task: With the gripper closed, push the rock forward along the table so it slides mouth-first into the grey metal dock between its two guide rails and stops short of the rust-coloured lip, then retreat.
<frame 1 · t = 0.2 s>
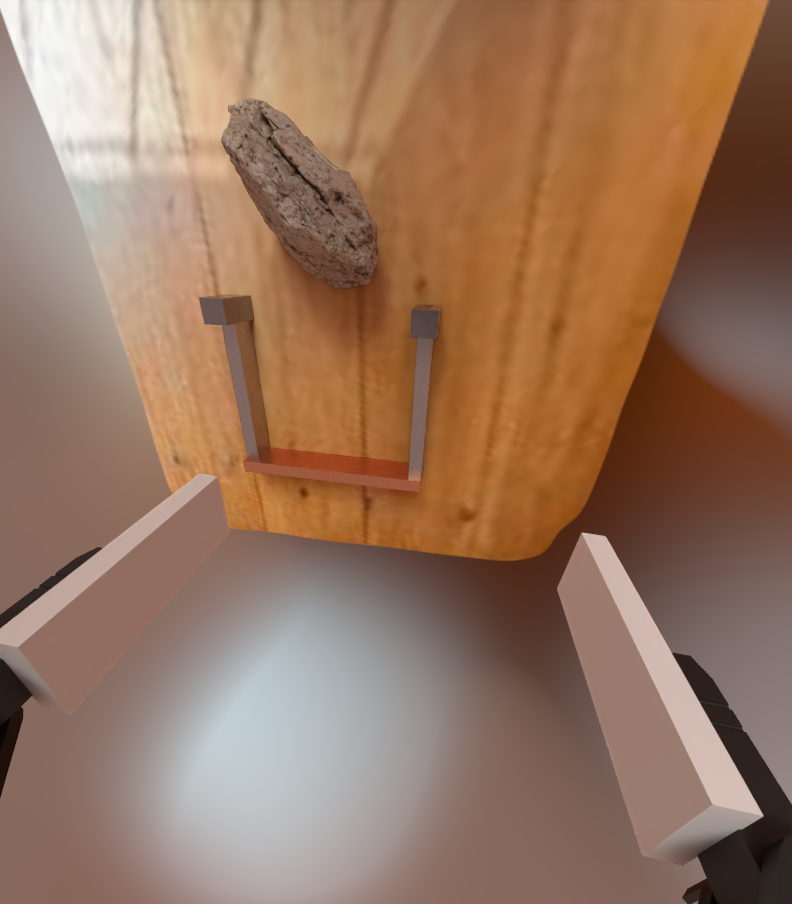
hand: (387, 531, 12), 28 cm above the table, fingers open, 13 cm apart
dock: (335, 392, 40), on the table
rock: (328, 219, 32), on the table
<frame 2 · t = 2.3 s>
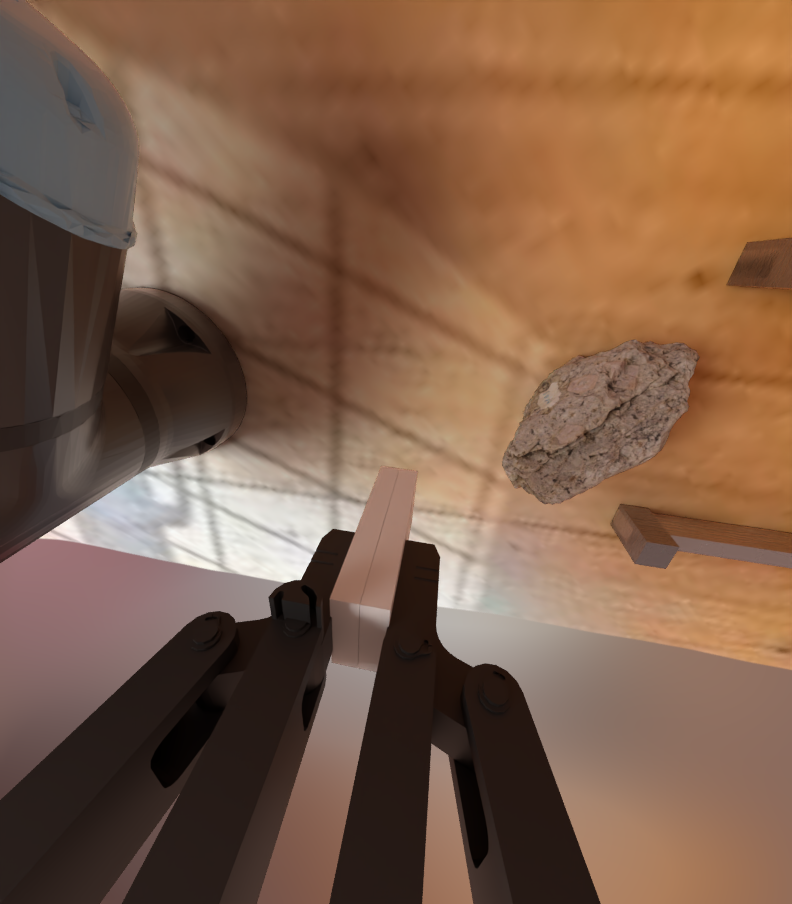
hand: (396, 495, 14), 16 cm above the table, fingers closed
rock: (571, 400, 28), on the table
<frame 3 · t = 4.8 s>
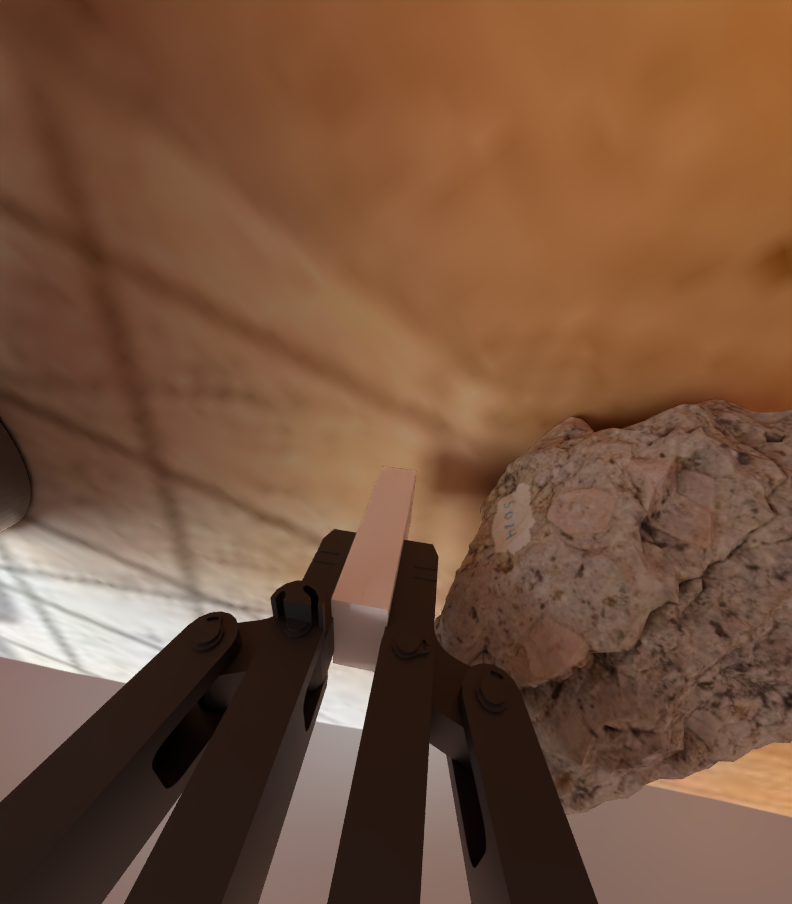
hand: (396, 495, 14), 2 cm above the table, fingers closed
rock: (564, 486, 16), on the table, touching gripper
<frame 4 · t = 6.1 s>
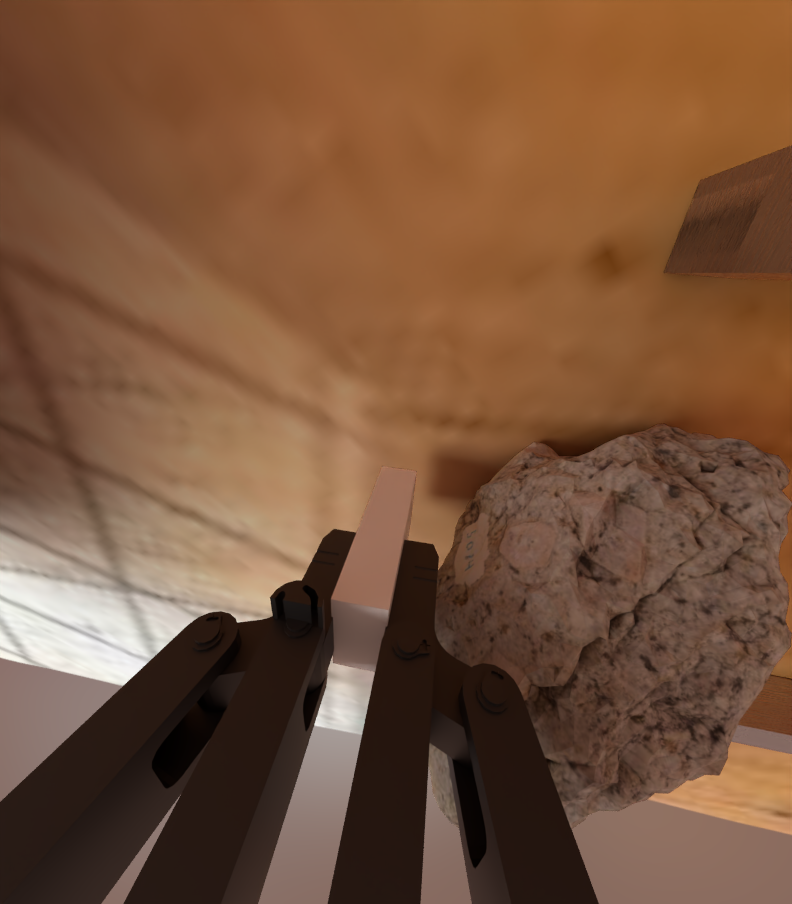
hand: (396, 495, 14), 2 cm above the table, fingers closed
rock: (538, 506, 16), on the table, touching gripper
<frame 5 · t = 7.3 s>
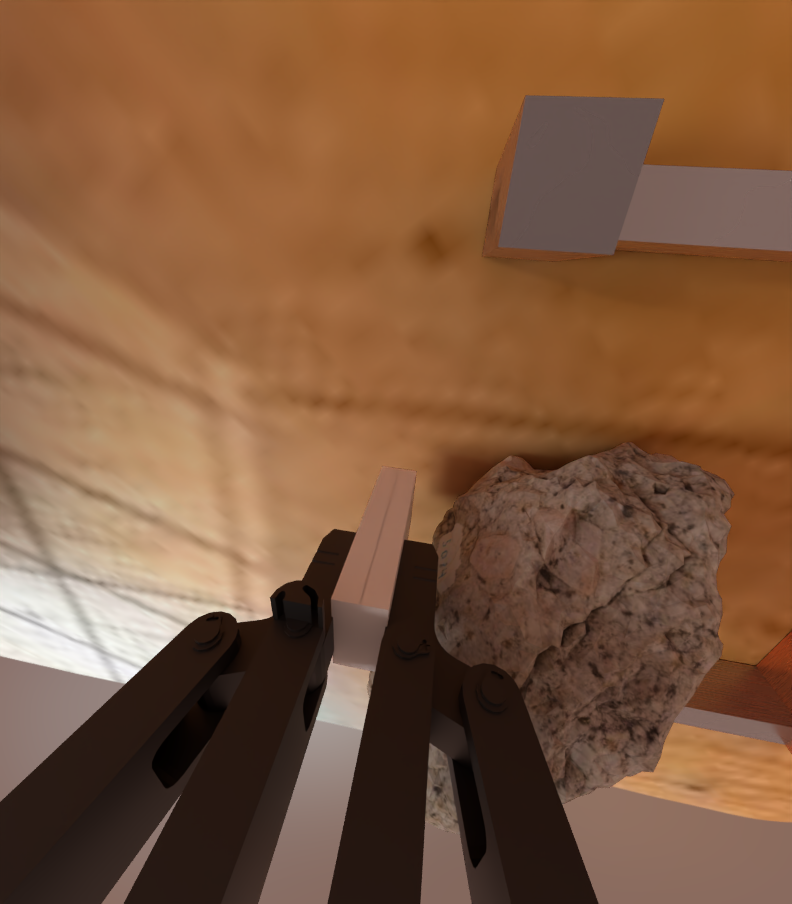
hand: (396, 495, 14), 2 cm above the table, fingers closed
dock: (670, 506, 15), on the table
rock: (514, 515, 17), on the table, touching gripper
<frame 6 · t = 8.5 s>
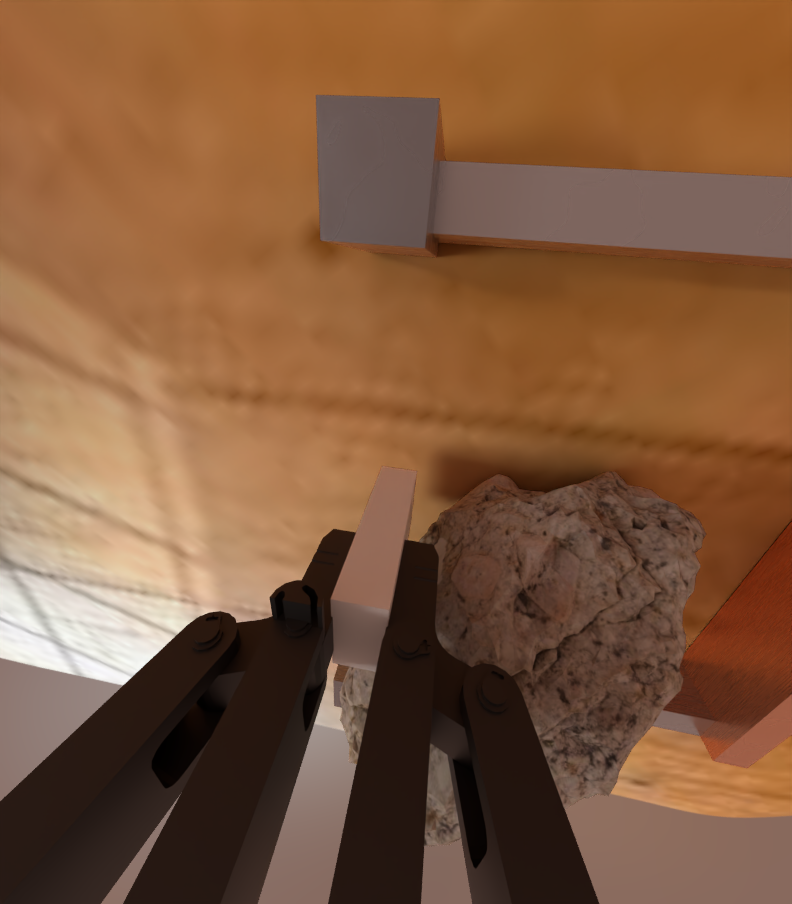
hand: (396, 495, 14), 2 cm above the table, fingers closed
dock: (577, 499, 15), on the table
rock: (497, 531, 17), on the table, touching gripper
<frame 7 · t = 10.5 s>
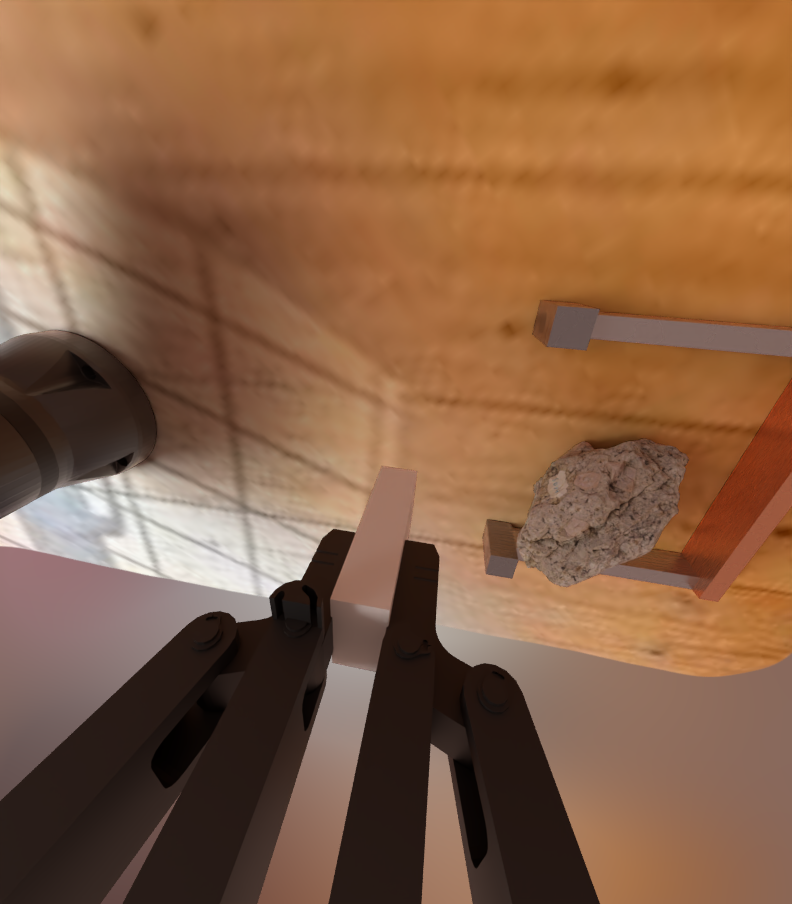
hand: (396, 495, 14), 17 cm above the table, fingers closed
dock: (625, 455, 29), on the table
rock: (577, 475, 31), on the table
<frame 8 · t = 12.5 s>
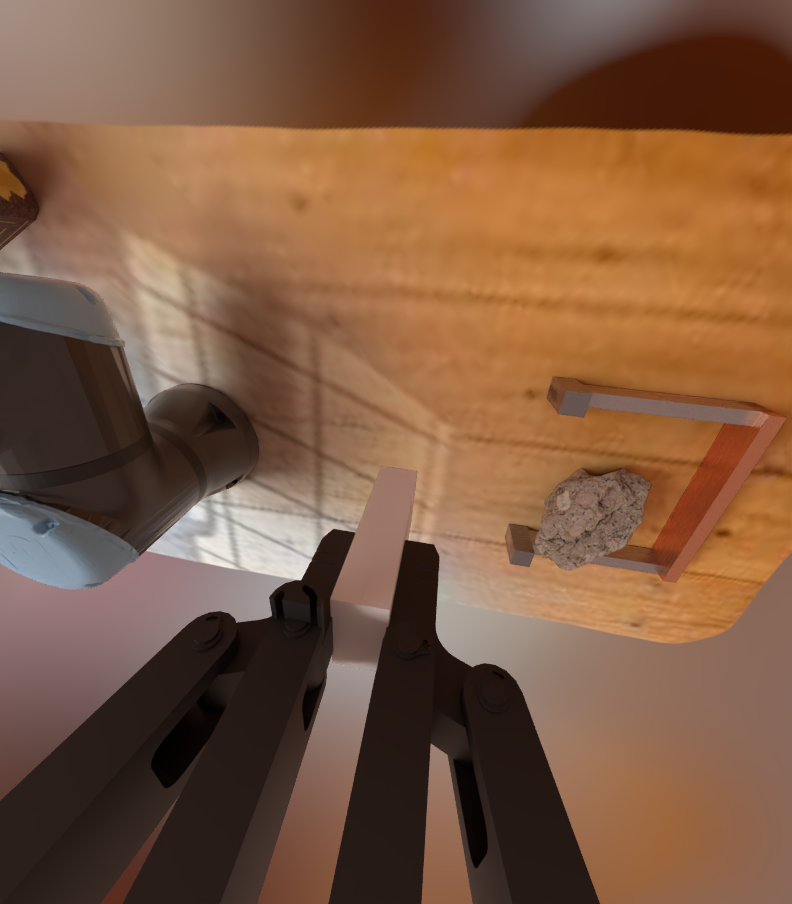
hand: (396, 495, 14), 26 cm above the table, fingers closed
dock: (610, 478, 41), on the table
rock: (576, 492, 43), on the table
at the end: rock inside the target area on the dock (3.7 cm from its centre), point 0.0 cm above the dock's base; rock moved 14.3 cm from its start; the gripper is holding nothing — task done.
